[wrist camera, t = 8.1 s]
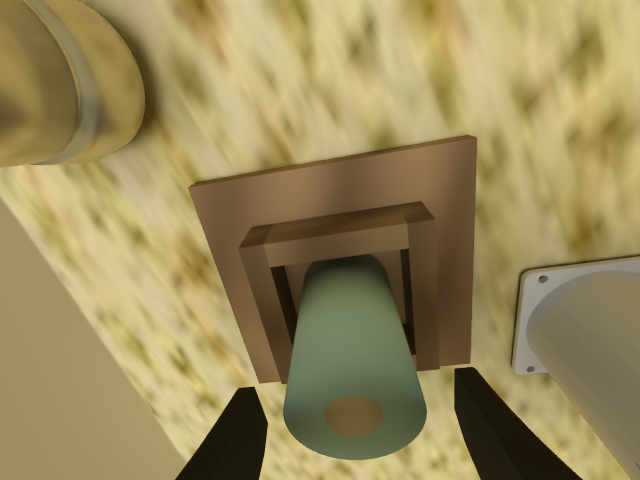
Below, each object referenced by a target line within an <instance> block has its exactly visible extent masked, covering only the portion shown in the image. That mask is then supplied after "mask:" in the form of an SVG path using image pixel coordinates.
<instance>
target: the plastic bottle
mask: <svg viewBox="0 0 640 480" xmlns="http://www.w3.org/2000/svg"><path fill="white" fill-rule="evenodd" d="M145 99H146V98H145V91H144V83H143V80H142V77H141V73H140V70H139V67H138V65H137V63H136V61H135V59H134V57H133V54H132V52H131V51H130V49H129V48H128V46H127V45H126V43H125V42H124V40H123V39H122V37H121V36H120V35H119V33H118V32H117V31H116V30H115V29H114V28H113V27H112V26H111V24H110V23H109V22H108V21H107V20H105V19H104V18H103V17H102V16H101V15H99V14H98V13H97V12H96V11H95V10H93V9H92V8H90V7H88V6H87V5H85V4H84V3H82V2H80V1H79V0H0V168H2V167H10V166H18V165H26V164H30V165H60V164H73V163H85V162H92V161H95V160H99V159H102V158H104V157H106V156H107V155H109V154H111V153H113V152H114V151H116V150H118V149H119V148H121V147H123V146H124V145H126V144H128V143H129V142H130V141H131V140H132V139H133V138H134V136H135V135H136V134H137V132H138V130H139V128H140V127H141V125H142V121H143V117H144V114H145Z"/></svg>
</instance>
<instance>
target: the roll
mask: <svg viewBox="0 0 640 480" xmlns="http://www.w3.org/2000/svg"><path fill="white" fill-rule="evenodd" d="M426 415H427V410H426V404H425V400H424V397H423V393H422V390H421V387H420V383H419V380H418V377H417V373H416V370H415V367H414V363H413V360H412V357H411V353H410V350H409V346H408V343H407V340H406V336H405V333H404V330H403V326H402V323H401V320H400V316H399V313H398V309H397V306H396V303H395V299H394V296H393V293H392V289H391V286H390V283H389V279H388V276H387V273H386V270H385V268H384V266H383V265H382V264H381V262H380V261H379V260H378V259H377V258H375V257H374V256H373V255H371V254H364V255H356V256H349V257H342V258H335V259H327V260H320V261H313V262H312V263H311V264H310V266H309V267H308V269H307V271H306V274H305V278H304V284H303V290H302V296H301V302H300V308H299V315H298V321H297V327H296V333H295V339H294V346H293V352H292V358H291V364H290V370H289V377H288V383H287V389H286V395H285V401H284V408H283V416H284V420H285V423H286V426H287V428H288V429H289V431H290V433H291V434H292V435H293V436H294V437H295V438H296V439H297V440H298V441H299V442H300V443H301V444H303V445H304V446H306V447H307V448H309V449H311V450H313V451H315V452H317V453H320V454H323V455H326V456H329V457H333V458H338V459H346V460H365V459H373V458H378V457H382V456H386V455H389V454H391V453H394V452H396V451H398V450H400V449H402V448H403V447H405V446H407V445H408V444H409V443H411V442H412V441H413V440H414V439H415V438H416V437H417V436H418V435H419V433H420V432H421V430H422V428H423V426H424V424H425V421H426Z"/></svg>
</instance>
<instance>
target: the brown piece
mask: <svg viewBox="0 0 640 480" xmlns="http://www.w3.org/2000/svg"><path fill="white" fill-rule="evenodd" d="M476 156H477V138H476V137H473V136H470V135H466V136H460V137H455V138H449V139H443V140H437V141H432V142H426V143H420V144H415V145H409V146H403V147H397V148H392V149H386V150H380V151H374V152H369V153H363V154H357V155H351V156H346V157H340V158H334V159H328V160H323V161H317V162H311V163H305V164H300V165H294V166H288V167H282V168H277V169H271V170H265V171H259V172H254V173H248V174H242V175H236V176H231V177H225V178H219V179H213V180H208V181H202V182H196V183H194V184H193V185H191V186H190V187H188V189H189V192H190V195H191V197H192V200H193V203H194V206H195V208H196V211H197V214H198V217H199V219H200V222H201V225H202V228H203V230H204V233H205V236H206V239H207V241H208V244H209V247H210V250H211V252H212V255H213V258H214V261H215V263H216V266H217V269H218V271H219V274H220V277H221V280H222V282H223V285H224V288H225V291H226V293H227V296H228V299H229V302H230V304H231V307H232V310H233V313H234V315H235V318H236V321H237V324H238V326H239V329H240V332H241V335H242V337H243V340H244V343H245V346H246V348H247V351H248V354H249V356H250V359H251V362H252V365H253V367H254V370H255V373H256V376H257V378H258V381H259V383H270V382H280V381H281V383H282V384H287V383H288V377H289V370H290V364H291V358H292V352H293V346H294V339H295V333H296V327H297V321H298V315H299V308H300V302H301V296H302V290H303V284H304V278H305V274H306V271H307V269H308V267H309V266H310V264H311V263H312V262H313V261H320V260H327V259H335V258H342V257H349V256H356V255H364V254H371V255H373V256H374V257H375V258H377V259H378V260H379V261H380V262H381V264H382V265H383V266H384V268H385V270H386V273H387V276H388V279H389V283H390V286H391V289H392V293H393V296H394V299H395V303H396V306H397V309H398V313H399V316H400V320H401V323H402V326H403V330H404V333H405V336H406V340H407V343H408V346H409V350H410V353H411V357H412V360H413V363H414V367H415V370H416V371H426V370H437V369H440V366H448V365H458V364H469V363H470V353H471V320H472V287H473V254H474V222H475V189H476Z"/></svg>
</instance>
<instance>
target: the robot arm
mask: <svg viewBox="0 0 640 480" xmlns="http://www.w3.org/2000/svg"><path fill="white" fill-rule="evenodd" d="M543 275H544V276H543ZM541 276H543V278H541V279H539V278H540V277H541ZM538 279H539V280H538ZM512 369H513V371H514V372H515V373H516V374H518V375H527V374H538V373H549V374H550V375H551V376H552V378H553V379H554V380H555V381H556V383H557V384H558V385H559V387H560V388H561V389H562V391H563V392H564V393H565V394H566V396H567V397H568V398H569V400H570V401H571V402H572V404H573V405H574V406H575V407H576V409H577V410H578V411H579V413H580V414H581V415H582V417H583V418H584V419H585V420H586V422H587V423H588V424H589V426H590V427H591V428H592V429H593V431H594V432H595V433H596V435H597V436H598V437H599V439H600V440H601V441H602V442H603V444H604V445H605V446H606V448H607V449H608V450H609V452H610V453H611V454H612V455H613V457H614V458H615V459H616V461H617V462H618V463H619V465H620V466H621V467H622V468H623V470H624V471H625V472H626V474H627V475H628V476H629V478H630V479H631V480H640V256H638V257H630V258H622V259H614V260H606V261H598V262H590V263H582V264H574V265H566V266H558V267H550V268H542V269H534V270H529V271H527V272H525V273H524V274H523V275H522V277H521V284H520V293H519V303H518V312H517V322H516V331H515V340H514V350H513V359H512ZM454 409H455V412H456V415H457V419H458V422H459V425H460V428H461V431H462V434H463V438H464V441H465V443H466V446H467V448H468V450H469V453H470V455H471V458H472V460H473V462H474V465H475V467H476V469H477V472H478V474H479V477H480V479H481V480H583V479H581V478H580V477H579V476H578V475H577V474H576V473H575V472H574V471H573V470H572V469H570V468H569V467H568V466H567V465H566V464H565V463H564V462H563V461H562V460H561V459H560V458H559V457H558V456H557V455H555V454H554V453H553V452H552V451H551V450H550V449H549V448H548V447H547V446H546V445H545V444H544V443H543V442H542V441H541V440H540V439H539V438H538V437H537V436H536V435H535V434H534V433H533V432H532V431H531V430H530V429H529V428H528V427H527V426H526V425H525V424H524V423H523V422H522V421H521V419H520V418H519V417H518V416H517V415H516V414H515V413H514V412H513V411H512V410H511V409H510V408H509V407H508V406H507V405H506V403H505V402H504V401H503V400H502V399H501V398H500V397H499V396H498V395H497V393H496V392H495V391H494V390H493V389H492V388H491V387H490V385H489V384H488V383H487V382H486V381H485V379H484V378H483V377H482V376H481V375H480V373H479V372H478V371H477V370H476V369H475V368H474V367H467V368H456V369H455V380H454ZM267 427H268V422H267V419H266V416H265V414H264V411H263V408H262V406H261V403H260V400H259V398H258V395H257V392H256V390H255V387H245V388H238V390H237V391H236V392H235V394H234V396H233V397H232V399H231V400H230V402H229V403H228V405H227V406H226V408H225V409H224V411H223V412H222V414H221V416H220V417H219V419H218V420H217V422H216V423H215V425H214V426H213V428H212V429H211V431H210V432H209V433H208V435H207V436H206V438H205V439H204V441H203V442H202V444H201V445H200V447H199V448H198V449H197V451H196V452H195V454H194V455H193V456H192V458H191V459H190V460H189V462H188V463H187V464H186V466H185V467H184V468H183V470H182V471H181V472H180V474H179V475H178V476H177V478H176V479H175V480H259V476H260V472H261V467H262V463H263V458H264V453H265V445H266V436H267Z"/></svg>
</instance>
